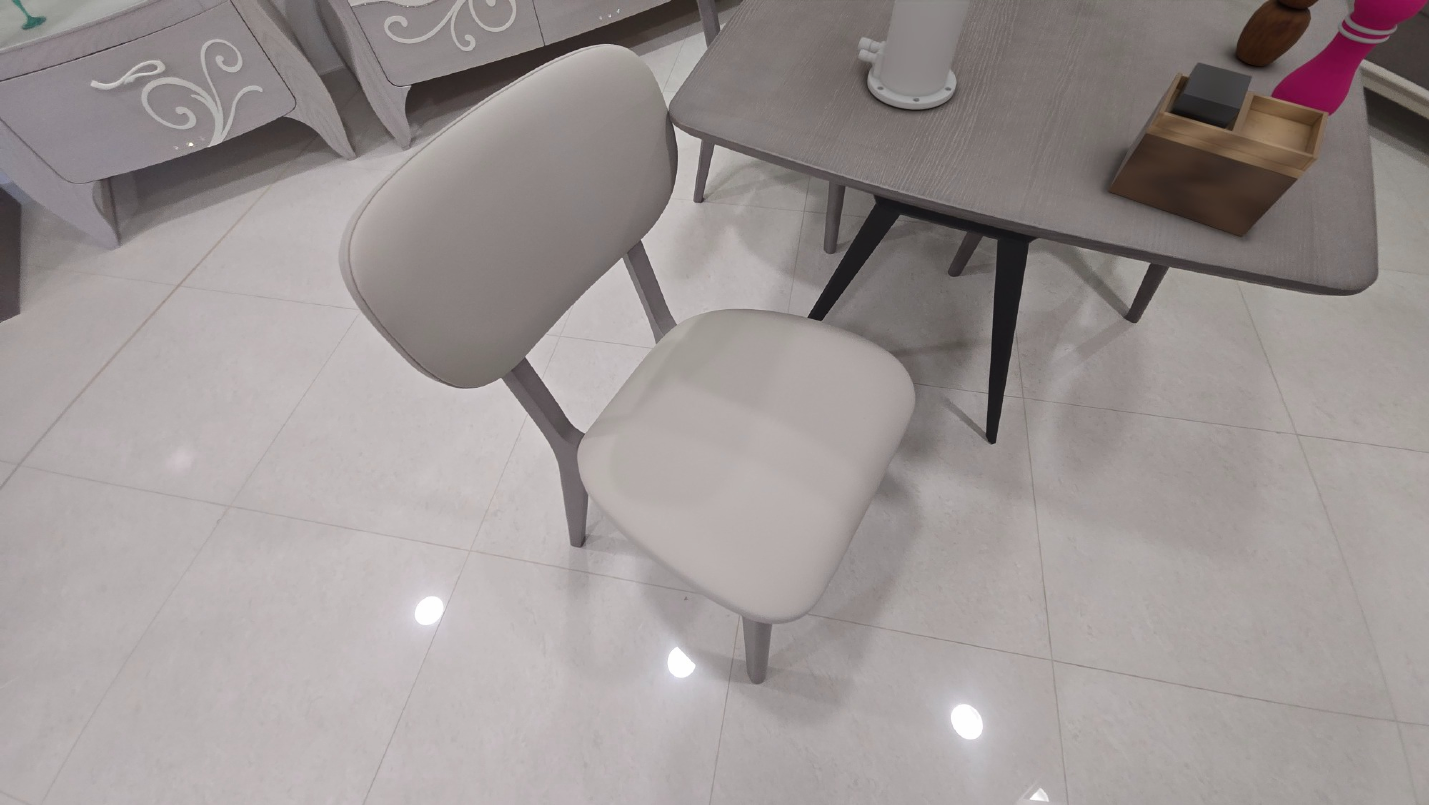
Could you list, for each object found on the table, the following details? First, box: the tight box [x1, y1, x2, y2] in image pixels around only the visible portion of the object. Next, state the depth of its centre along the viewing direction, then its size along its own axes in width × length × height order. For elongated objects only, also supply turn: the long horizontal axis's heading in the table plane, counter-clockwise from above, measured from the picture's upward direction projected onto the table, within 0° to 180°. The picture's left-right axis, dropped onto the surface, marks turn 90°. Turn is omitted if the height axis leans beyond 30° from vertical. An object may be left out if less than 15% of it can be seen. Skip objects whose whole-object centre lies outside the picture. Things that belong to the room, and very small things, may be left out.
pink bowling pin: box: [1270, 0, 1429, 117], centre depth 70 cm, size 7×7×20 cm
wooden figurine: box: [1235, 0, 1319, 67], centre depth 81 cm, size 7×6×15 cm
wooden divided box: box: [1107, 62, 1329, 237], centre depth 68 cm, size 15×9×12 cm, turn 56°
